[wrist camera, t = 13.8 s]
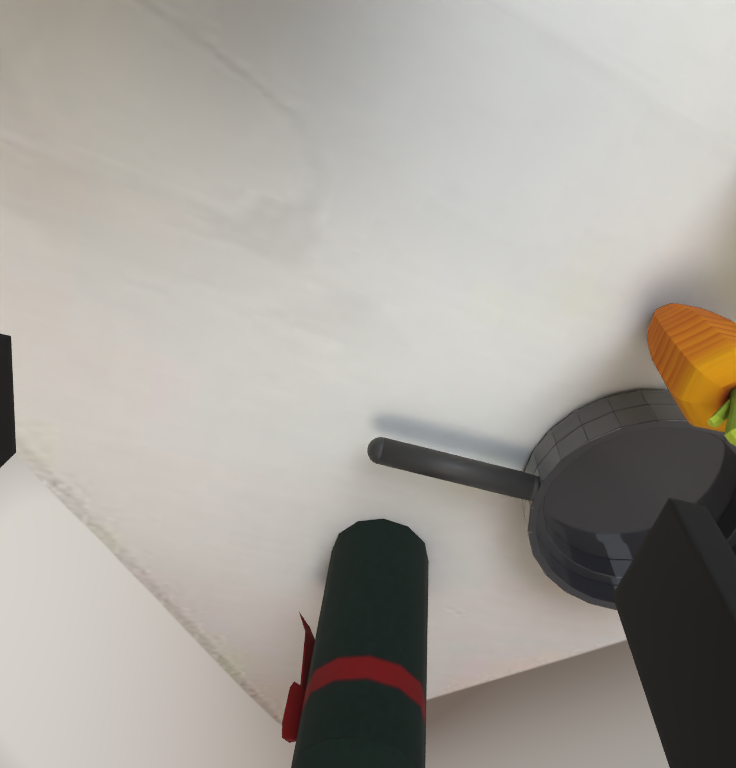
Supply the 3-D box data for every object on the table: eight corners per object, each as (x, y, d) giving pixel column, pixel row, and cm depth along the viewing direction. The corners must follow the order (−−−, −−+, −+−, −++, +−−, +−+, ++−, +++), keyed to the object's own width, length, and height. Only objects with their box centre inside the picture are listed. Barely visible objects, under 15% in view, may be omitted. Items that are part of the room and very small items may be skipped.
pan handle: (371, 429, 43) (369, 444, 41) (545, 472, 43) (549, 488, 42) (365, 450, 44) (363, 465, 42) (535, 492, 44) (540, 509, 43)
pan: (569, 362, 42) (582, 392, 38) (801, 421, 43) (836, 456, 39) (491, 542, 50) (496, 581, 46) (688, 589, 50) (709, 632, 47)
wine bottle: (290, 544, 52) (142, 1061, 25) (403, 506, 49) (370, 1043, 22) (334, 609, 55) (244, 1132, 28) (444, 577, 52) (457, 1124, 26)
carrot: (720, 302, 39) (867, 430, 26) (661, 361, 42) (769, 507, 28) (660, 258, 39) (780, 368, 25) (603, 321, 41) (686, 452, 27)
